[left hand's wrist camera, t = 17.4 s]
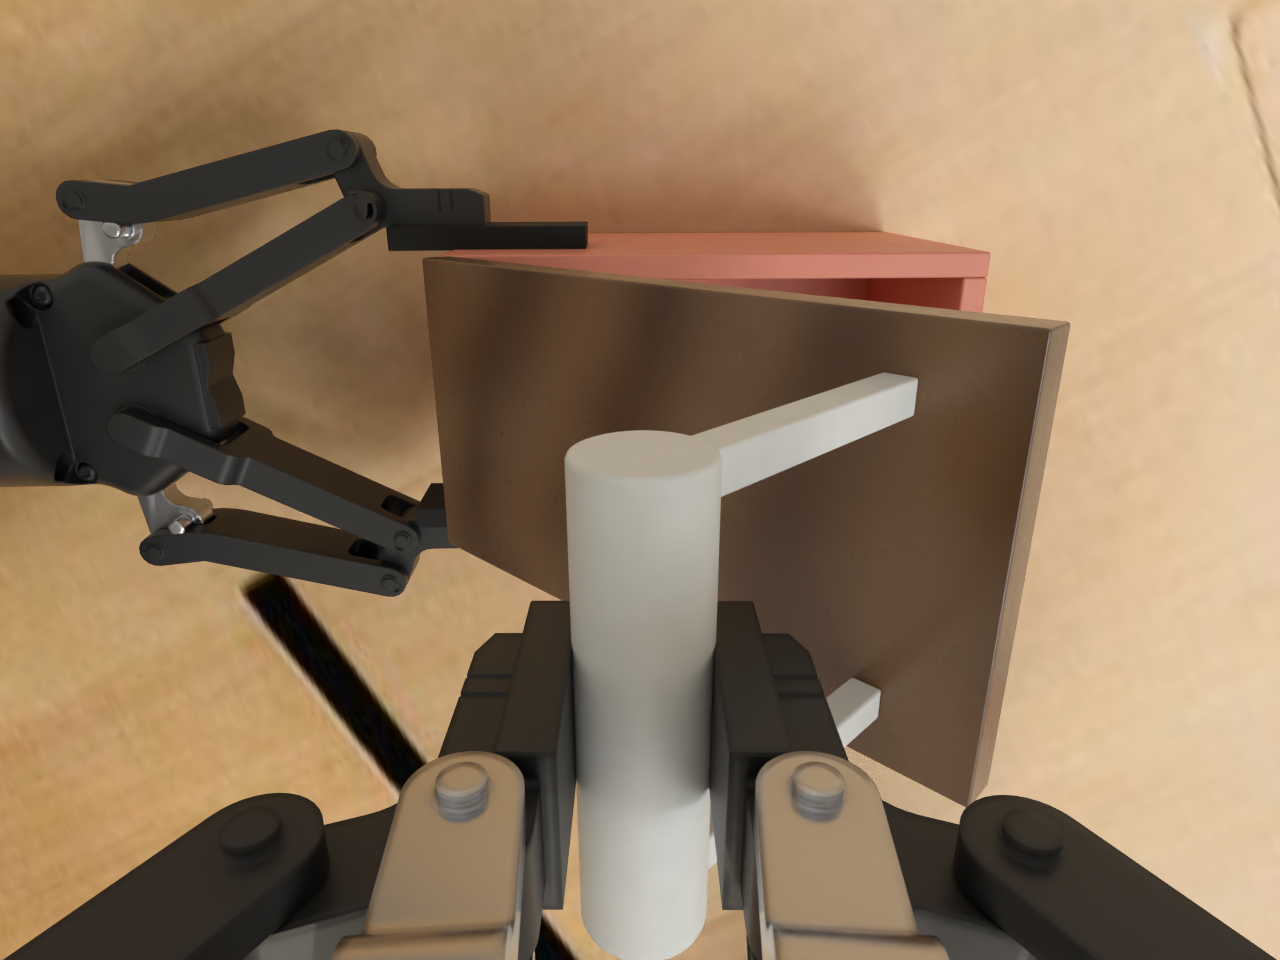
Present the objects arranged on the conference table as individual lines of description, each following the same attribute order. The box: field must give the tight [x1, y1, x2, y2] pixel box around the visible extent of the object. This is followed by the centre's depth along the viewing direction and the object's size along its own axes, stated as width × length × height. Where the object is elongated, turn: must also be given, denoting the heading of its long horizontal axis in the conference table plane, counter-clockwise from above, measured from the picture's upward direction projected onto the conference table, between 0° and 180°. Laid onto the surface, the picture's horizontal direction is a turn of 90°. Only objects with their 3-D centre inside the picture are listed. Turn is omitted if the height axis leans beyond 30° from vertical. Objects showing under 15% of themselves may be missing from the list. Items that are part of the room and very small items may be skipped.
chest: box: [440, 232, 990, 313], centre depth 32 cm, size 17×9×11 cm, turn 90°
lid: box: [423, 256, 1070, 960], centre depth 18 cm, size 18×9×8 cm
